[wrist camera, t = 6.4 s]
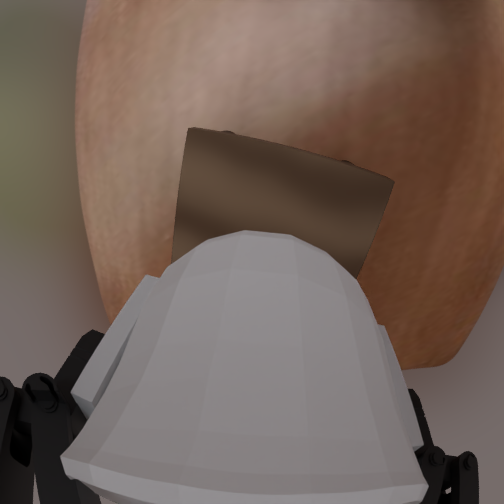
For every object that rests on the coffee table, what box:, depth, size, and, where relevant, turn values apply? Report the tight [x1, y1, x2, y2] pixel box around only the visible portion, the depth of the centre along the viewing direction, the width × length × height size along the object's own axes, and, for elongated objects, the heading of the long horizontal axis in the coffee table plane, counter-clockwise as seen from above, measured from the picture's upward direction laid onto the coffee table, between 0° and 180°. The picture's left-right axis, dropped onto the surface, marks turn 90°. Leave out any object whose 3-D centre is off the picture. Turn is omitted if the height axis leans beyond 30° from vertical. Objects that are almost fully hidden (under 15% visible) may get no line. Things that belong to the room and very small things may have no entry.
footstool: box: [171, 127, 395, 279], centre depth 23 cm, size 14×14×8 cm
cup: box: [60, 230, 429, 504], centre depth 9 cm, size 10×10×10 cm
